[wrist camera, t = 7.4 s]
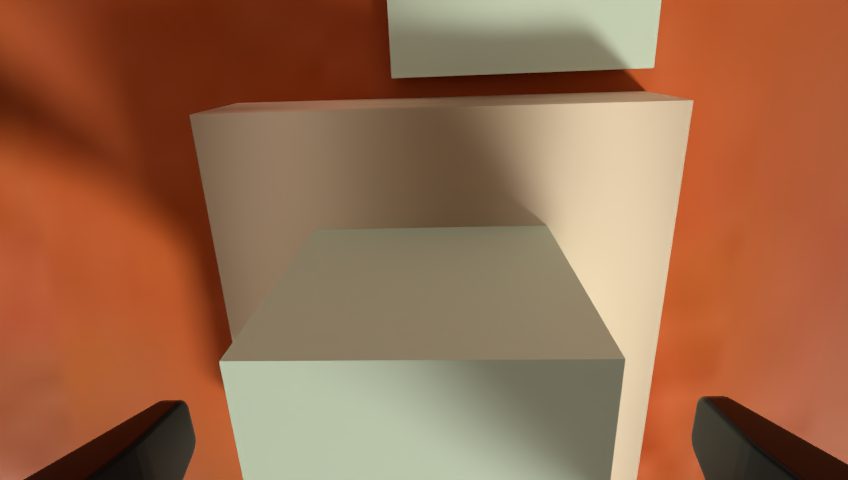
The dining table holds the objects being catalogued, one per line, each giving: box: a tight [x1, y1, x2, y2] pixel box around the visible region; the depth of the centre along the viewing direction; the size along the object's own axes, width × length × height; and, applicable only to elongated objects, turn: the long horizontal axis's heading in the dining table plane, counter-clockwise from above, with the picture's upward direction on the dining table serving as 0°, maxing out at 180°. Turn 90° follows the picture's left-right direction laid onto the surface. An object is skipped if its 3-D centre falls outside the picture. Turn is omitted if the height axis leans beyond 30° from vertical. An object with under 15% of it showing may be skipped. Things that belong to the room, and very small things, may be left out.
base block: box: [189, 91, 693, 480], centre depth 13 cm, size 10×10×3 cm
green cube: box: [219, 225, 625, 480], centre depth 9 cm, size 5×5×5 cm
